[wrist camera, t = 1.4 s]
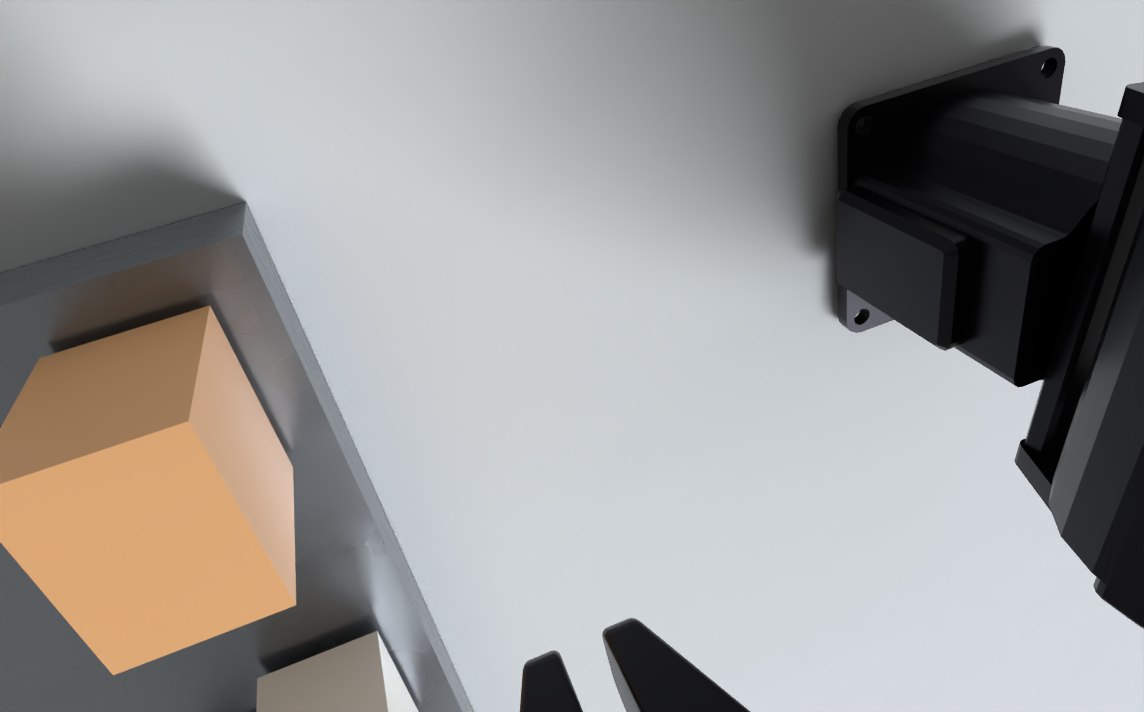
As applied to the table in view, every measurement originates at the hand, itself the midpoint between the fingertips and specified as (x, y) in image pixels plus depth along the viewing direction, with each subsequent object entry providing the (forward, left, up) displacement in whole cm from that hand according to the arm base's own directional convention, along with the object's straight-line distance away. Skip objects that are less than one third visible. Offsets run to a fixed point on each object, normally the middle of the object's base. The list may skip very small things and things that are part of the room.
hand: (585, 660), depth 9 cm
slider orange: (+5, 0, -9) cm, 10 cm away
